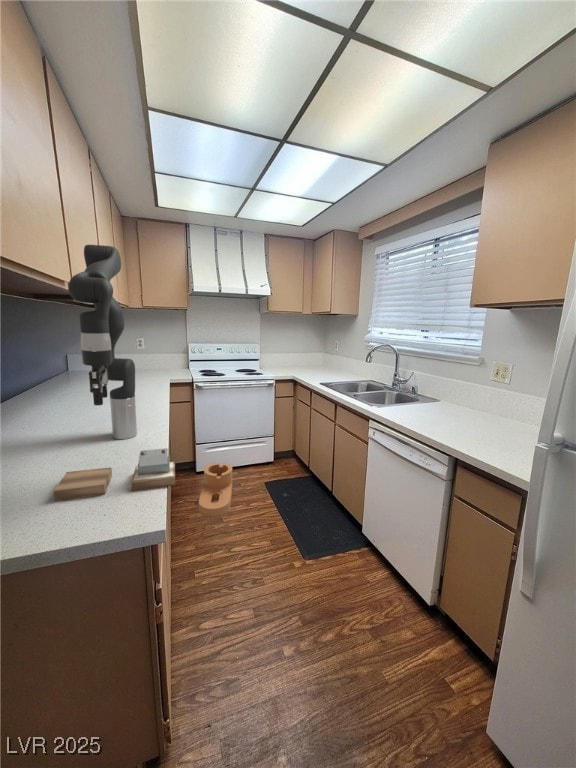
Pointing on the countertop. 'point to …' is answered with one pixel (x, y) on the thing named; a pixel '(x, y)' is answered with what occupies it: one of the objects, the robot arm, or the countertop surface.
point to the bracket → (216, 490)
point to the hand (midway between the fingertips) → (101, 401)
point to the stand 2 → (153, 479)
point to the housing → (153, 462)
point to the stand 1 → (83, 483)
